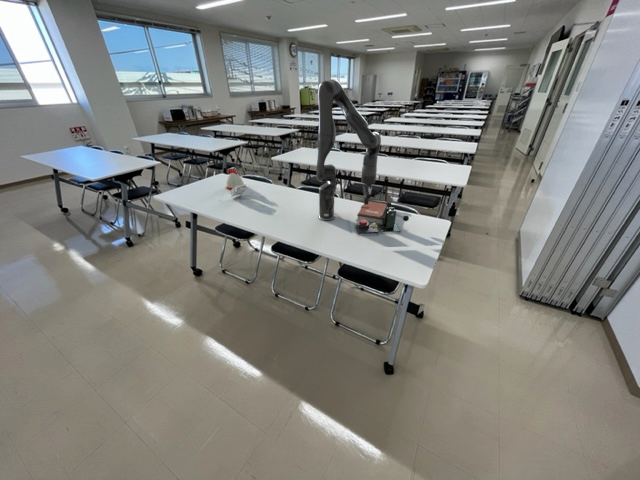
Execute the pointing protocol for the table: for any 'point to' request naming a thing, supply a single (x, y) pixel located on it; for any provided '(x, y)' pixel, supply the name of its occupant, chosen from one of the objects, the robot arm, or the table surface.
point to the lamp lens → (373, 225)
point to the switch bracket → (389, 221)
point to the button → (363, 222)
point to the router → (238, 190)
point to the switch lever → (402, 216)
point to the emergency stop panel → (365, 228)
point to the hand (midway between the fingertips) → (365, 203)
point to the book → (374, 211)
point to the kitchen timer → (233, 180)
